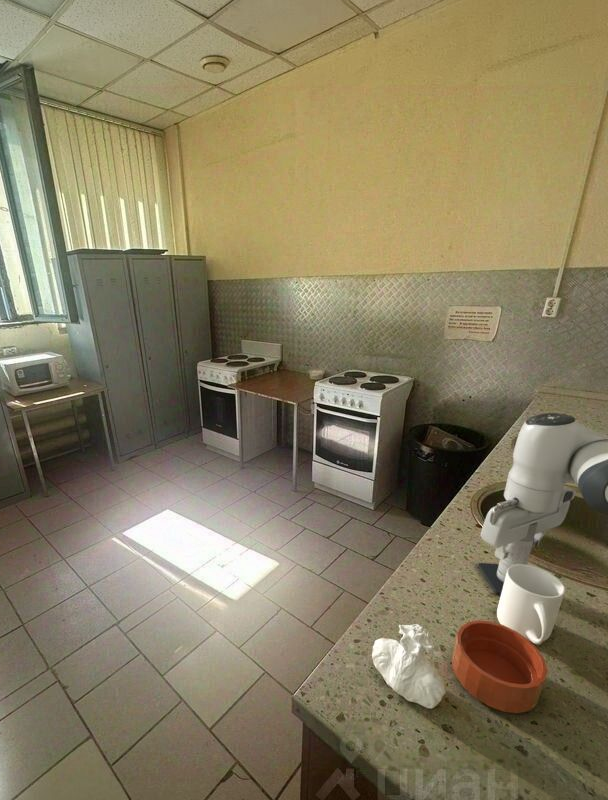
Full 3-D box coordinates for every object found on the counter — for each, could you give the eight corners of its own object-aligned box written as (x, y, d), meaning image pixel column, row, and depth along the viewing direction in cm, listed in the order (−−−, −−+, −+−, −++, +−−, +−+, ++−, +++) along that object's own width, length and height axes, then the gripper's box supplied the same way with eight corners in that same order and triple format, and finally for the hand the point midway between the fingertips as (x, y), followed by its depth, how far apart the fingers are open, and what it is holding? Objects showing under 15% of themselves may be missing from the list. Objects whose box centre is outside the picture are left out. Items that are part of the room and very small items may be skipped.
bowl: (514, 649, 70) (522, 623, 68) (554, 720, 58) (565, 692, 56) (441, 642, 71) (446, 617, 69) (467, 710, 60) (474, 683, 58)
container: (522, 575, 85) (538, 516, 80) (521, 588, 82) (538, 528, 77) (497, 567, 88) (511, 509, 83) (495, 579, 85) (509, 520, 79)
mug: (506, 653, 69) (520, 606, 65) (491, 603, 80) (501, 560, 76) (565, 666, 66) (582, 618, 63) (541, 612, 77) (554, 568, 73)
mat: (520, 568, 89) (521, 565, 89) (542, 598, 80) (543, 595, 80) (478, 565, 90) (478, 562, 90) (495, 594, 82) (496, 591, 81)
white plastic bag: (441, 718, 61) (470, 650, 62) (426, 725, 56) (457, 651, 57) (373, 665, 70) (400, 607, 71) (355, 667, 65) (383, 604, 66)
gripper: (510, 513, 71) (495, 574, 76) (581, 489, 78) (563, 547, 83) (479, 497, 77) (467, 555, 82) (548, 476, 84) (533, 531, 89)
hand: (516, 551), depth 82 cm, fingers open, 8 cm apart
